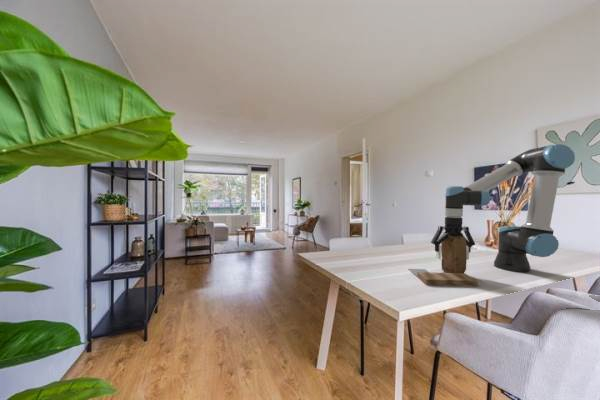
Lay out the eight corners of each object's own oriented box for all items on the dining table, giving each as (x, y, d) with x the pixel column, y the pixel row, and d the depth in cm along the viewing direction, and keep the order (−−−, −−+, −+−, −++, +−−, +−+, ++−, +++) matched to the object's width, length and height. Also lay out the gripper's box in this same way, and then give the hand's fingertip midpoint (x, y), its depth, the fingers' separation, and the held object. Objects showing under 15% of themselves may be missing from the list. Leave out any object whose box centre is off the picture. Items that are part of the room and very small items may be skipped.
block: (467, 277, 120) (468, 236, 119) (454, 278, 118) (455, 237, 118) (451, 270, 130) (451, 232, 130) (438, 270, 129) (439, 233, 129)
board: (464, 278, 118) (464, 273, 118) (477, 286, 108) (477, 280, 108) (417, 277, 119) (417, 271, 119) (426, 284, 109) (426, 279, 109)
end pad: (425, 269, 131) (425, 269, 131) (435, 277, 119) (435, 276, 119) (407, 269, 132) (407, 268, 132) (416, 276, 120) (416, 276, 120)
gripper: (474, 216, 126) (473, 257, 127) (424, 215, 128) (423, 255, 129) (484, 218, 119) (483, 261, 119) (431, 217, 121) (430, 259, 121)
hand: (452, 258), depth 124 cm, fingers open, 13 cm apart
